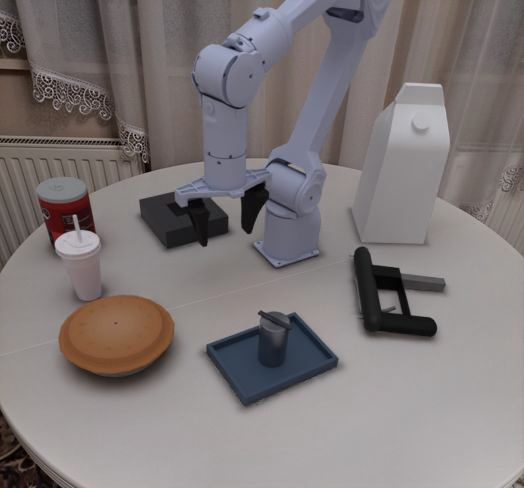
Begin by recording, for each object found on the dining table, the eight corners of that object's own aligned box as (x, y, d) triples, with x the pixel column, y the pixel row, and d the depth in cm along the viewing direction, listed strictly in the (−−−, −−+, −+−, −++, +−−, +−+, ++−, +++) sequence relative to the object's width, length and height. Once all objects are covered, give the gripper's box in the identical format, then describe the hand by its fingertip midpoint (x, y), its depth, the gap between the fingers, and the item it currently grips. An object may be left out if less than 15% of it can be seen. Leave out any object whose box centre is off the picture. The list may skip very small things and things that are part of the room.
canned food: (62, 230, 93) (47, 173, 85) (105, 236, 92) (94, 179, 84) (44, 254, 87) (26, 196, 79) (89, 260, 87) (76, 202, 79)
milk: (409, 212, 104) (449, 74, 86) (423, 243, 96) (471, 99, 78) (351, 210, 104) (379, 71, 85) (361, 242, 96) (394, 96, 77)
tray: (294, 319, 79) (295, 311, 78) (337, 366, 73) (339, 358, 71) (206, 352, 73) (206, 344, 72) (244, 406, 67) (245, 398, 65)
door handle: (438, 254, 90) (349, 243, 89) (466, 332, 76) (360, 320, 75) (431, 269, 92) (344, 259, 91) (457, 347, 78) (354, 336, 77)
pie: (81, 310, 78) (74, 284, 74) (182, 316, 78) (180, 290, 75) (48, 386, 67) (38, 360, 64) (166, 393, 67) (162, 368, 64)
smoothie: (100, 309, 78) (82, 230, 68) (61, 302, 79) (37, 223, 69) (116, 284, 83) (102, 207, 73) (79, 278, 83) (60, 200, 73)
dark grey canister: (264, 341, 75) (267, 303, 69) (294, 357, 73) (299, 319, 68) (248, 357, 72) (250, 319, 67) (278, 373, 70) (283, 336, 65)
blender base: (199, 201, 103) (198, 185, 100) (228, 232, 95) (228, 215, 93) (140, 215, 98) (138, 199, 95) (167, 249, 90) (165, 232, 88)
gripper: (188, 173, 63) (192, 263, 72) (286, 151, 68) (278, 238, 78) (165, 150, 67) (172, 238, 76) (259, 131, 72) (255, 216, 82)
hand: (224, 237), depth 77 cm, fingers open, 7 cm apart
